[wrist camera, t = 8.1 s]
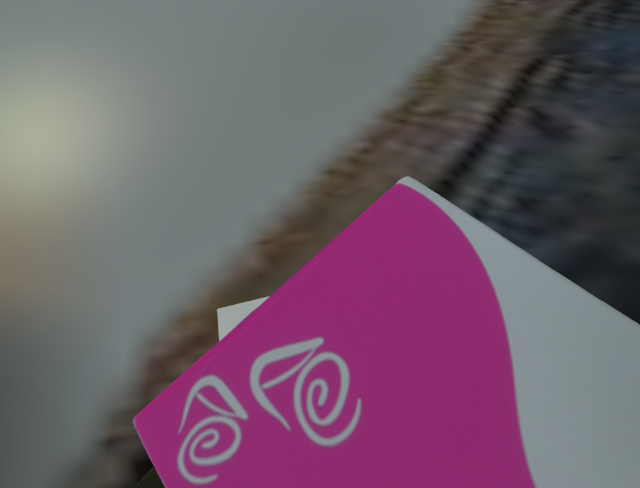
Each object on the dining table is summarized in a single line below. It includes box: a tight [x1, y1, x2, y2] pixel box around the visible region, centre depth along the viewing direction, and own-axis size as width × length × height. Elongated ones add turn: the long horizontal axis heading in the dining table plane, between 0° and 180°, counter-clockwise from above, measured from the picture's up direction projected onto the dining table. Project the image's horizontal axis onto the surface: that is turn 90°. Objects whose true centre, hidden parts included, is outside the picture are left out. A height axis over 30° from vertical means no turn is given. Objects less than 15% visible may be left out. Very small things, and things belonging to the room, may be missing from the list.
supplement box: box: [133, 176, 640, 488], centre depth 9 cm, size 6×6×12 cm
